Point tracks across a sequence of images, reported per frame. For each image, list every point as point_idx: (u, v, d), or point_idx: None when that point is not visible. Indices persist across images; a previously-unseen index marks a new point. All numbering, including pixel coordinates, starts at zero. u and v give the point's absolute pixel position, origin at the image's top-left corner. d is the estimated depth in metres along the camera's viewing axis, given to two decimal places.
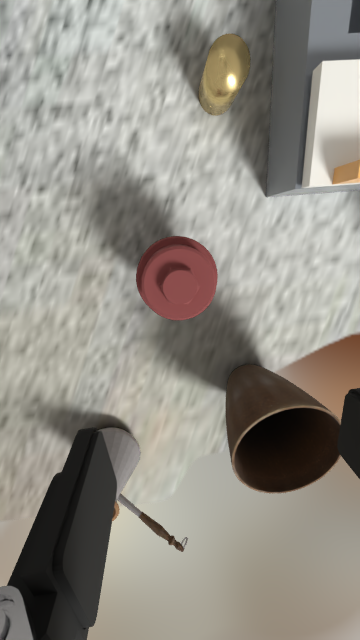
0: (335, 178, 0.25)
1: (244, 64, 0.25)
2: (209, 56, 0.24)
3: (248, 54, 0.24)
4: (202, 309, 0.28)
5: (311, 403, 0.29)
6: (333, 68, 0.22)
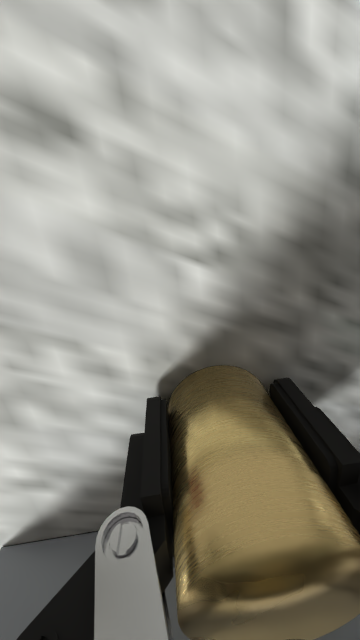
0: None
1: (269, 639, 0.06)
2: (314, 544, 0.04)
3: None
4: None
5: None
6: None
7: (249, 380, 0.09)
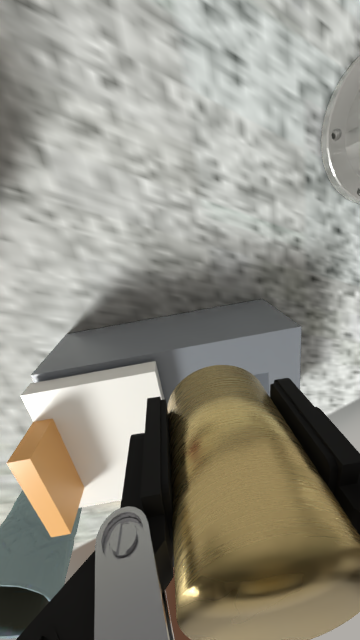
0: (37, 424, 0.18)
1: (269, 639, 0.06)
2: (313, 543, 0.04)
3: None
4: None
5: None
6: (150, 385, 0.18)
7: (248, 379, 0.09)
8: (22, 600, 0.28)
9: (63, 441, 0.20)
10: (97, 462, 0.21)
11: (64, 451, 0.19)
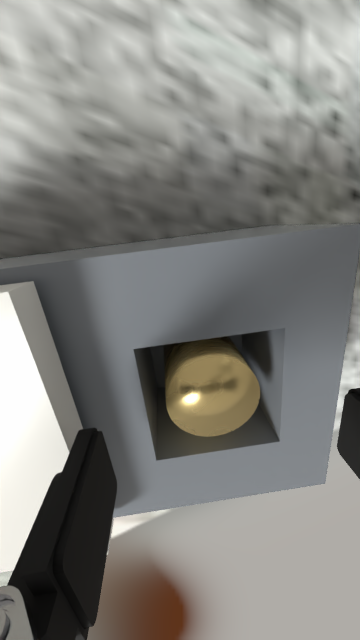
0: None
1: (211, 427, 0.12)
2: (223, 360, 0.11)
3: (228, 430, 0.12)
4: None
5: None
6: (2, 330, 0.07)
7: None
8: None
9: None
10: None
11: None
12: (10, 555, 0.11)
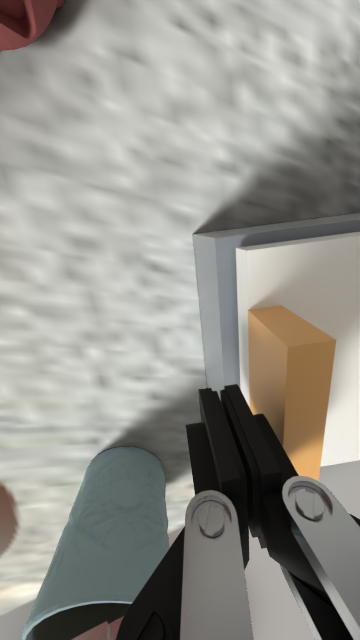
0: (262, 311, 0.10)
1: None
2: None
3: None
4: None
5: None
6: None
7: None
8: (104, 619, 0.20)
9: None
10: None
11: None
12: (348, 448, 0.14)
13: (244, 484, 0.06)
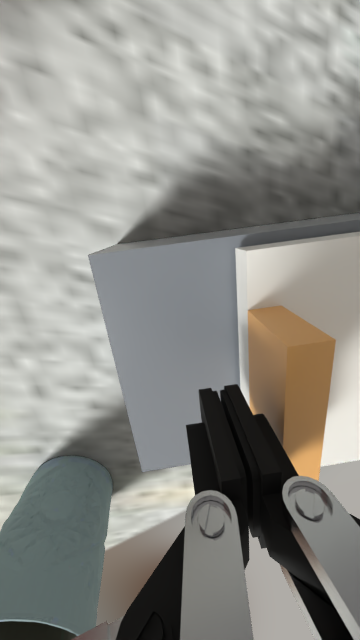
0: (262, 311, 0.10)
1: None
2: None
3: None
4: None
5: None
6: None
7: None
8: (32, 633, 0.19)
9: None
10: None
11: None
12: (348, 447, 0.14)
13: (244, 484, 0.06)
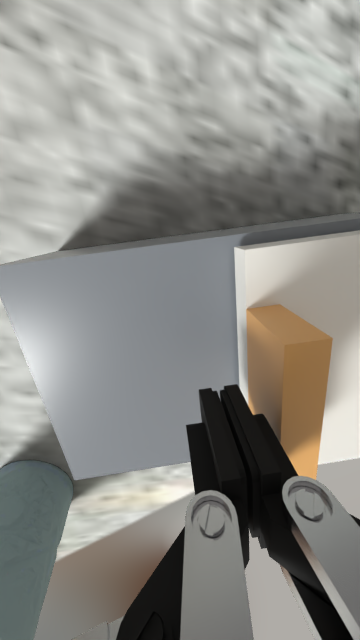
0: (260, 310, 0.10)
1: None
2: None
3: None
4: None
5: None
6: None
7: None
8: None
9: None
10: None
11: None
12: (347, 446, 0.14)
13: (244, 484, 0.06)
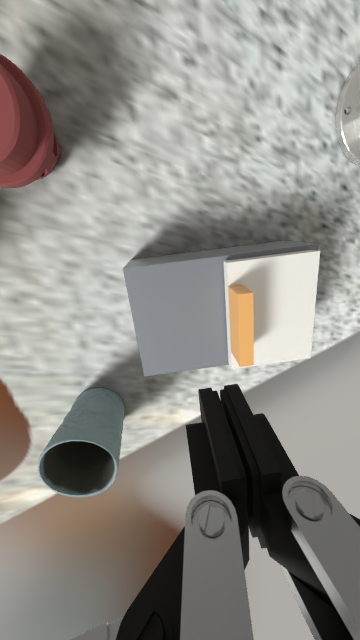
0: (233, 286, 0.26)
1: None
2: None
3: None
4: None
5: None
6: (314, 262, 0.26)
7: None
8: (82, 474, 0.35)
9: None
10: (259, 327, 0.28)
11: None
12: (277, 354, 0.30)
13: (244, 484, 0.06)
